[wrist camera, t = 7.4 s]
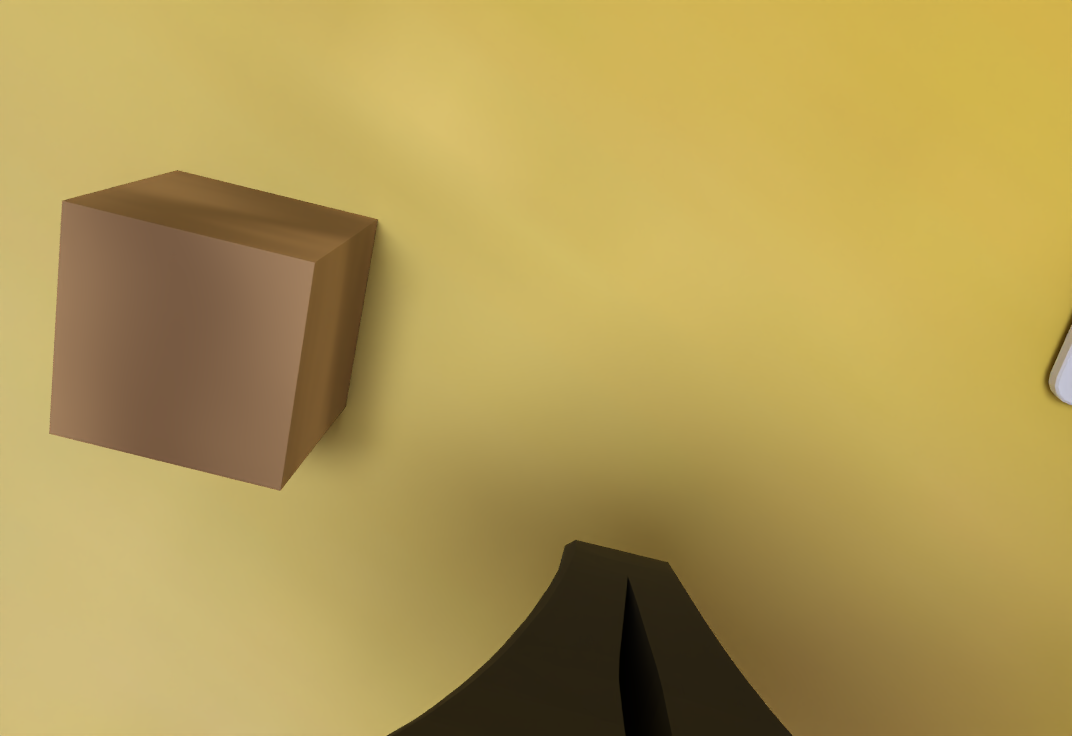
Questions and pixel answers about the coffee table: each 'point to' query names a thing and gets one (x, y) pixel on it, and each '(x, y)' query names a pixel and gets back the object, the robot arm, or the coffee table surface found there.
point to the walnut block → (206, 323)
